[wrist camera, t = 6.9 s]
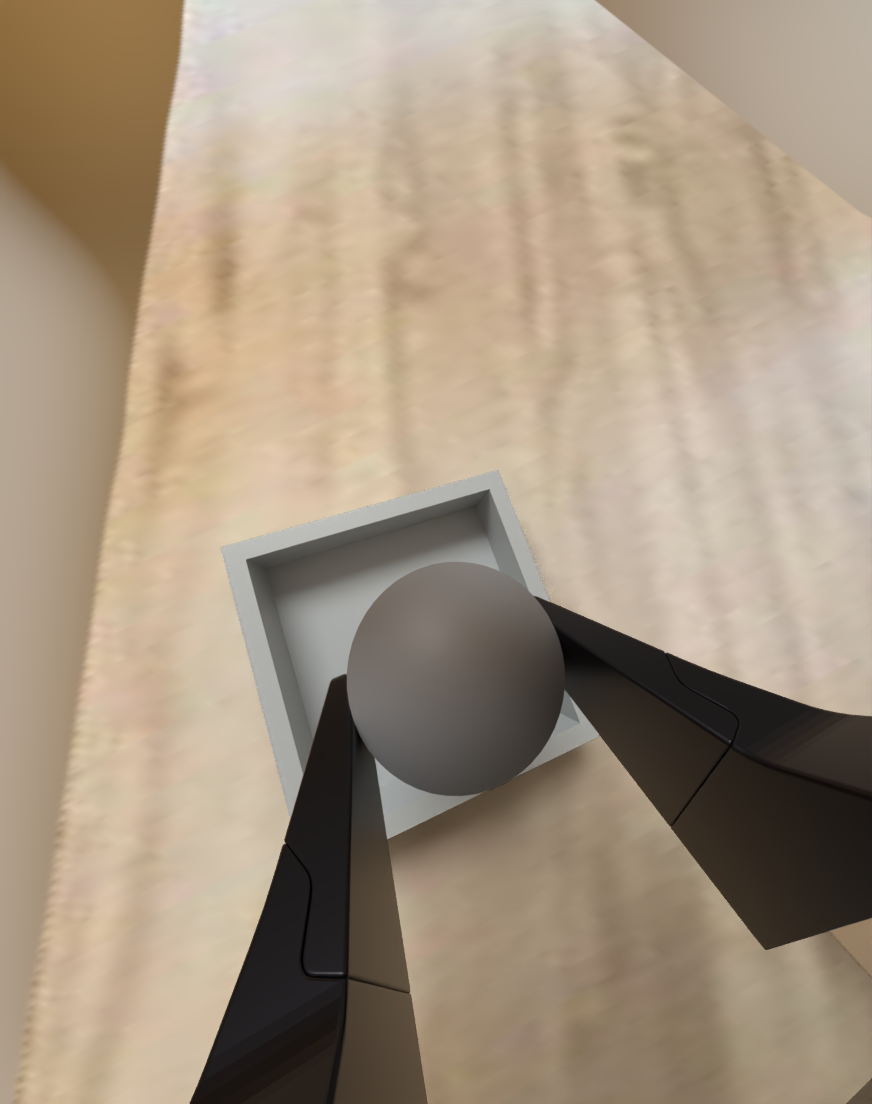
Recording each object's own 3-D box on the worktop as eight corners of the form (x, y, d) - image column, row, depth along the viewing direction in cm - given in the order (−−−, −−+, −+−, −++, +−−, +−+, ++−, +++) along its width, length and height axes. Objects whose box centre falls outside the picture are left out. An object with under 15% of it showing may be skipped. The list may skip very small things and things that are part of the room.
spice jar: (467, 710, 16) (559, 804, 7) (357, 698, 15) (324, 786, 7) (479, 601, 17) (569, 578, 9) (376, 586, 16) (368, 545, 8)
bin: (565, 715, 23) (603, 734, 19) (321, 827, 19) (305, 879, 15) (480, 493, 25) (498, 469, 21) (249, 560, 22) (220, 547, 18)
